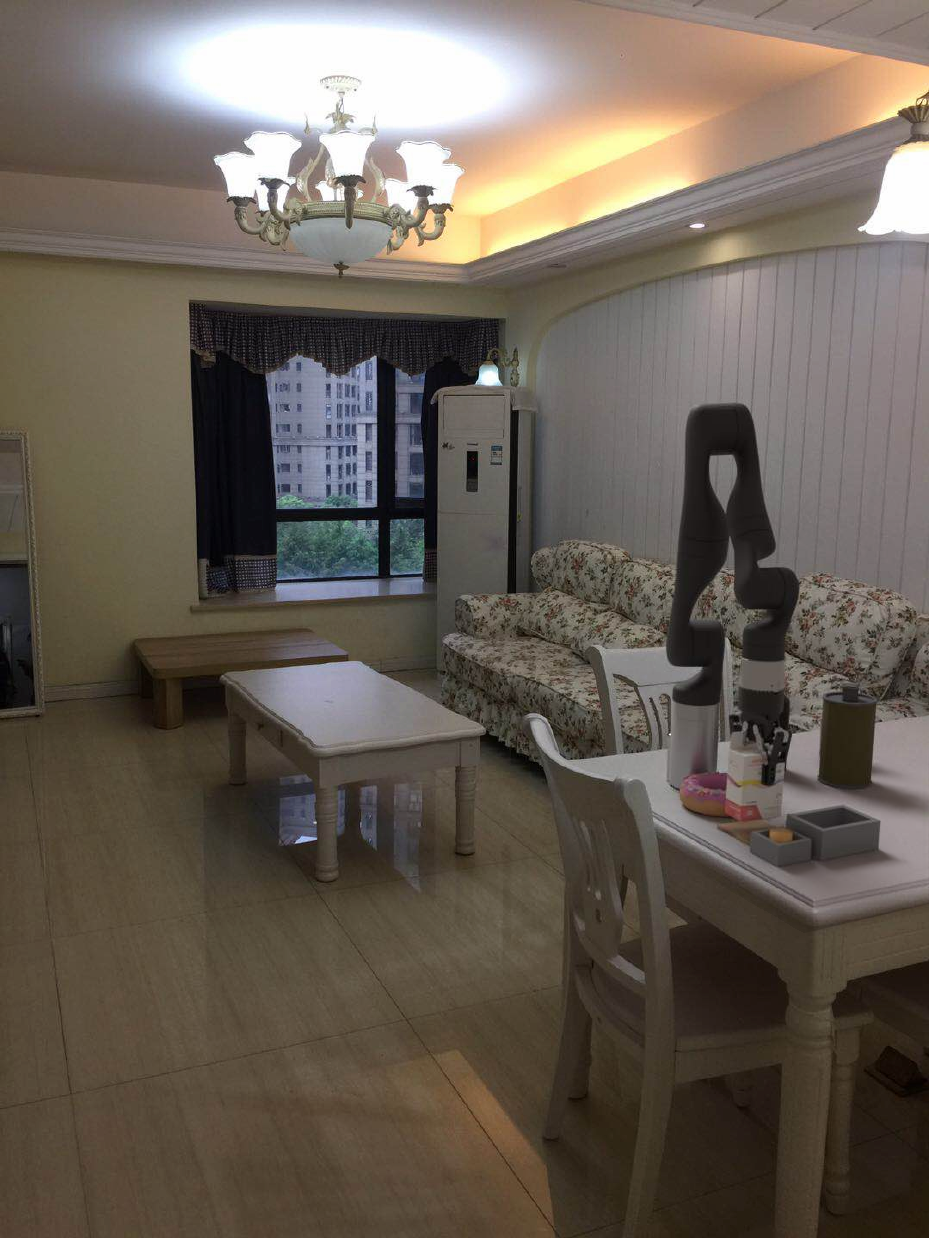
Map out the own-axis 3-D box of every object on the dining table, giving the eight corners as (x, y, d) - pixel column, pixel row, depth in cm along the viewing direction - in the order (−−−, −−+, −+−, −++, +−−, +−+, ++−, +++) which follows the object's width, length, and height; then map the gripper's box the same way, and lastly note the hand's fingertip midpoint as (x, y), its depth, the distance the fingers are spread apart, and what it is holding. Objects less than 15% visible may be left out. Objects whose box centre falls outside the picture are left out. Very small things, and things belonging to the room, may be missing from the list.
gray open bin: (784, 842, 176) (786, 814, 175) (841, 832, 181) (842, 804, 180) (820, 860, 168) (822, 831, 168) (878, 849, 174) (880, 820, 173)
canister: (872, 791, 203) (879, 692, 200) (816, 785, 206) (822, 687, 203) (871, 775, 213) (878, 680, 210) (818, 770, 216) (823, 676, 213)
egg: (763, 850, 171) (765, 830, 171) (781, 847, 173) (782, 826, 172) (778, 858, 168) (780, 837, 167) (796, 854, 169) (797, 834, 169)
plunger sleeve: (749, 851, 172) (750, 831, 172) (781, 845, 175) (783, 825, 174) (777, 866, 166) (778, 845, 165) (810, 859, 169) (811, 839, 168)
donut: (770, 818, 189) (771, 791, 188) (695, 821, 186) (696, 795, 186) (738, 792, 203) (739, 767, 202) (668, 795, 200) (669, 770, 200)
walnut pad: (717, 827, 183) (717, 824, 183) (757, 820, 186) (757, 817, 186) (750, 845, 175) (750, 842, 175) (792, 837, 178) (792, 834, 178)
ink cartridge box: (741, 823, 176) (745, 739, 174) (724, 813, 181) (728, 731, 178) (783, 817, 179) (787, 734, 177) (765, 808, 184) (769, 727, 181)
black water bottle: (793, 770, 216) (798, 677, 213) (771, 776, 212) (776, 681, 209) (766, 762, 221) (771, 671, 218) (745, 767, 218) (750, 675, 214)
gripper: (717, 677, 181) (713, 771, 184) (772, 694, 168) (767, 795, 171) (751, 674, 184) (747, 766, 187) (808, 690, 171) (802, 789, 174)
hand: (756, 779), depth 179 cm, fingers closed on ink cartridge box, 5 cm apart
